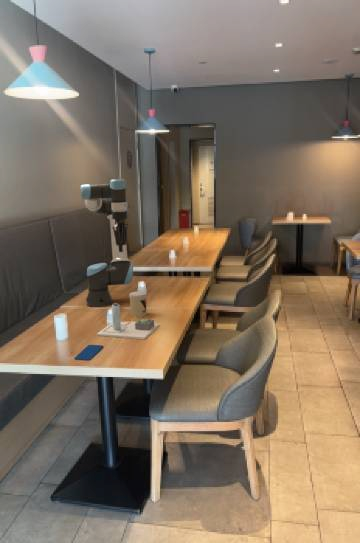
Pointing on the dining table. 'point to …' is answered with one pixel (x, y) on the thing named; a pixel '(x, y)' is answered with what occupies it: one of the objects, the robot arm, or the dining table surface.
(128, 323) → the board
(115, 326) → the marker
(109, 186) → the robot arm
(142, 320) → the button
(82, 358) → the smartphone
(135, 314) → the coffee cup
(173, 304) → the dining table surface
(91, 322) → the dining table surface
